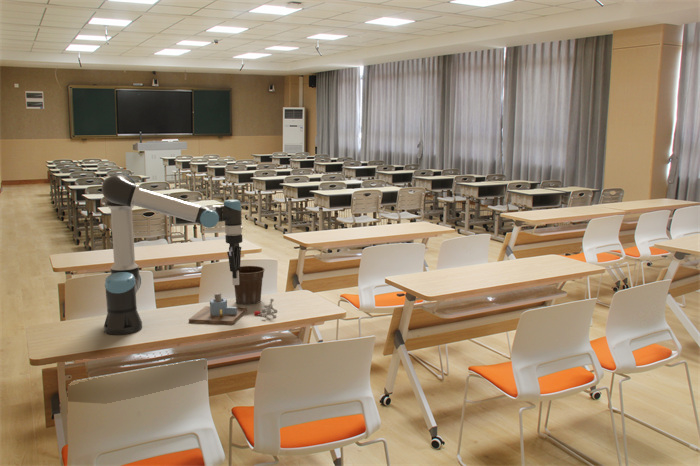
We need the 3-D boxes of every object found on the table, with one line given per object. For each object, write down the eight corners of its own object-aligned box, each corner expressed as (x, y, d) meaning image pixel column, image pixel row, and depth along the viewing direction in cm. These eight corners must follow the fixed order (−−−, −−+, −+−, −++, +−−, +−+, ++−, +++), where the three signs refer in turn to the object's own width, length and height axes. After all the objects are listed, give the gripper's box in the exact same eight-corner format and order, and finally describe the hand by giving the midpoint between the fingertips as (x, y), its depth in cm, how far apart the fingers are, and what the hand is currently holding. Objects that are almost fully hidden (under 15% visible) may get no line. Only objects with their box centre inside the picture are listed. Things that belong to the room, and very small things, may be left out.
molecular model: (256, 328, 264) (277, 320, 264) (250, 313, 262) (271, 305, 262) (258, 315, 278) (278, 308, 278) (252, 301, 276) (272, 294, 276)
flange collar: (208, 315, 264) (208, 302, 263) (214, 310, 271) (213, 298, 270) (233, 316, 263) (233, 303, 262) (238, 311, 270) (238, 299, 269)
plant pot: (266, 296, 300) (265, 265, 298) (264, 305, 285) (263, 272, 282) (234, 296, 299) (233, 265, 297) (230, 306, 284) (228, 273, 281)
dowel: (219, 317, 261) (219, 310, 260) (220, 316, 262) (220, 309, 261) (222, 317, 261) (221, 310, 260) (222, 317, 262) (222, 309, 261)
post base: (188, 322, 259) (187, 299, 257) (205, 309, 279) (204, 287, 277) (232, 324, 256) (231, 301, 255) (246, 310, 276) (246, 289, 274)
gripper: (237, 236, 260) (239, 288, 264) (246, 231, 273) (248, 281, 277) (220, 236, 261) (223, 288, 265) (230, 231, 274) (232, 280, 278)
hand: (236, 284), depth 271 cm, fingers closed
